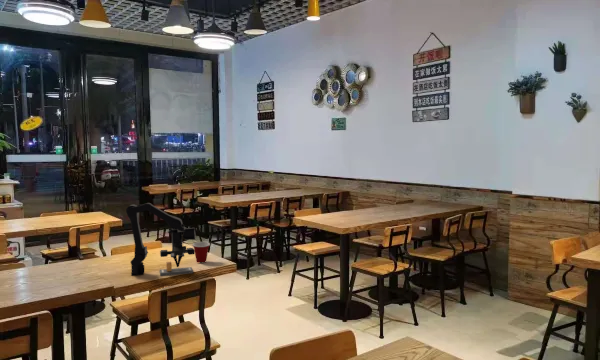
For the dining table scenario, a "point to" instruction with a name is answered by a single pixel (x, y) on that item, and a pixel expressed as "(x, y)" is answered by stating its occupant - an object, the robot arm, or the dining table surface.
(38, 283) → the dining table surface
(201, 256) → the plastic cup
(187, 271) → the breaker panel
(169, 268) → the handle
